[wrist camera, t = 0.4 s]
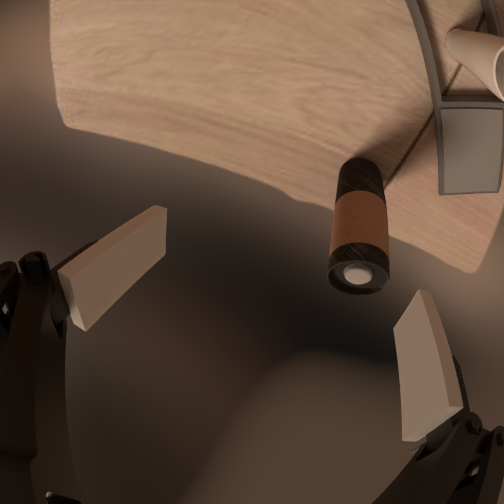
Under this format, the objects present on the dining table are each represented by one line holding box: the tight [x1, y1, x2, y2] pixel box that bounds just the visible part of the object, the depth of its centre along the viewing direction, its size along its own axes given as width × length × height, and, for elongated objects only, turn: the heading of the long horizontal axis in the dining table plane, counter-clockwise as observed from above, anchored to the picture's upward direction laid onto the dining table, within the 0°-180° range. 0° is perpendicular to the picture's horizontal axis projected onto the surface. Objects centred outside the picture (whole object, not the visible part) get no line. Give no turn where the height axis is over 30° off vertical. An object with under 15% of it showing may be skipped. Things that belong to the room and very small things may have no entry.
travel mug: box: [327, 158, 390, 296], centre depth 35 cm, size 8×8×20 cm
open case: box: [405, 0, 504, 195], centre depth 22 cm, size 33×13×2 cm, turn 26°
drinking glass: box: [446, 28, 504, 102], centre depth 13 cm, size 7×7×15 cm
